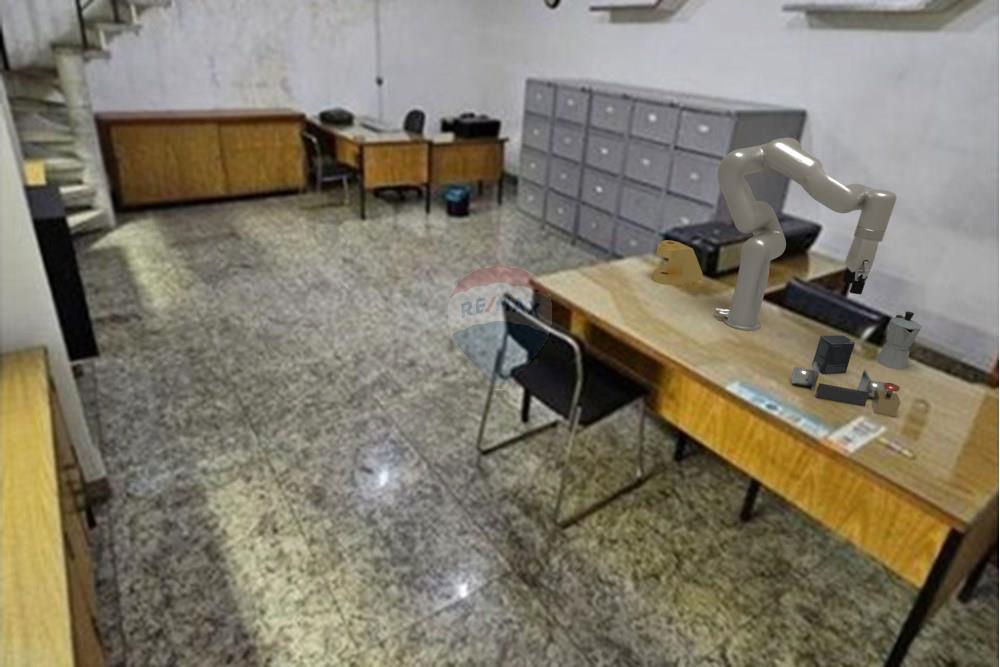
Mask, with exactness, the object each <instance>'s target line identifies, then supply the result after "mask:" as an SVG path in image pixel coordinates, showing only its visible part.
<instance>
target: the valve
mask: <svg viewBox="0 0 1000 667" xmlns="http://www.w3.org/2000/svg"><path fill="white" fill-rule="evenodd" d="M884 383H885V384H884V387H885V388H886V389H887V391H882V390H878V389H877V390H876V392H875V395H874V398H872V400H871V404H870V405H871V408H872V411H873V414H877V415H882V416H886V417H891V418H892V417H893V418H896V416H897V412H898V410H899V409H900V408H899V407H900V404H901V403H902V402H901V399H900V397H899V395H898V393H897V392H900V389H901V387H900V386H899V385H897V384H896V383H892V382H884Z"/></svg>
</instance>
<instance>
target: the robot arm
mask: <svg viewBox="0 0 1000 667" xmlns="http://www.w3.org/2000/svg"><path fill="white" fill-rule="evenodd" d="M768 170H776V172H779V173H781V174H783V175H784V176H785V177H787V178H789V179H790V180H792V181H793V182H795V183H797V184H798V185H799V186H801V187H802V189H803V190H804V191H805V192H806V193H807V195H809V196H810V197H811V198H812V199H814V200H815V201H816V202H818V203H820V204H821V205H822V206H824V207H826V208H828V209H829V210H831V211H833V212H835V213H838V214H848V213H851V212H854V211H861V212H860V214H859V217H858V218H859V219H858V221H857V225H856V227H855V230H854V233H853V237H854V238H853V239H852V243H851V245H850V248H849V250H848V252H847V255H846V258H845V261H844V264H845V266H846V269H845V272H844V275H843V277H842V282H843V283H847V284H851V285H850V289H849V293H850V294H854V295H855V294H856V295H862V294H863V291H864V288H865V285H866V282H867V279H868V277H869V276H868V275H869V274H870V272H871V270H872V267H873V263H874V261H875V258H876V254H877V250H878V246H879V243H881V242H883V239H884V237H885V234H886V231H887V228H888V224H889V221H890V219H891V217H892V213H893V210H894V208H895V205H896V201H897V195H896V194H895V192H892V191H889V190H885V189H876V188H872V187H870V186H867V185H863V184H860V183H851V184H848V185H844V184H842V183H840V182H839V181H837V180H836V179H834V178H833V177H831V176H830V175H829V174H827V173H826V172H825V170H824V168H823V164H822V161H821V160H820V159H818V158H816V157H815V156H813V155H811V154H810V153H808V152H806V151H804V150H803V149H802V145H801V143H800V142H799V141H798V140H797V139H796V138H794V137H793V138H792V137H782V138H776V139H773V140H771V141H769V142H767V143H763V144H759V145H754V146H750V147H744V148H742V147H741V148H737V149H734V150H733V151H731V152H729V153H728V154H726V155H725V156H724V157H723V158H722V160H721V162H720V163H719V165H718V169H717V182H718V185H719V188H720V191H721V192H722V194H723V197H724V199H725V202H726V205H727V209H728V210H729V213H730V215H731V218H732V221H733V222H734V223H733V224H734V225H735V228H736V229H737V230H738V232H740V233H742V234H750V233H752V235H753V236H752V237H749V239H747V240H746V241H745V242H744V244H743V245H742V248H741V251H740V260H739V261H740V263H739V269H738V274H737V278H736V283H735V288H734V291H733V294H732V295H733V296H732V300H731V304H730V305H729V306H728V308H721V307H718V306H717V307H715V311H714V314H715V313H716V314H718V316H722V321H723V323H725V324H726V325H727V326H729V327H731V328H734V329H737V330H741V331H749V332H750V331H751V332H752V331H758V330H759V329H761V327H762V322H761V321H760V320H759V315H760V312H761V308H762V304H763V302H764V301H763V300H764V297H765V292H766V288H767V285H768V281H769V276H770V265H771V261H772V260H774V259H777V258H778V257H779V258H780V257H781V256H782V255H783V253H784V252H785V250H786V247H787V242H786V237H785V235H784V232H783V229H782V226H781V225H780V221H779V218H778V216H777V214H776V212H775V210H774V208H773V207H772V206H771V205H770V204H769V203H768V202H766V201H763V200H762V201H761V200H756V199H755V198H756V197H755V196H754V194H753V193H754V192H753V191H752V188H751V186H750V185H749V183H748V182H747V180H746V178H745V176H748V175H751V174H756V173H759V172H764V171H768Z"/></svg>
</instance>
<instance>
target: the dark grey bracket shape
mask: <svg viewBox="0 0 1000 667" xmlns="http://www.w3.org/2000/svg"><path fill="white" fill-rule="evenodd" d="M812 364H813V366H812V367H811V369H809V368H802V367H797V366H794V367H793V369H792V371H791V377H790V383H791V384H792V385H798V386H799V385H800V386H804V387H809V388H810V390H811V392H814V391H815V388H816V385H817V382H818V379H819V375H820V374H821V373H820V371H819V368H818V365H817V362H815V361H814V363H813V362H812ZM885 383H886V382H883V381H882V382H880V381H875V380H872V379H871V376H870V375H869V373H868V371H867V370H865V369H864V370H863V372H862V375H861V377H860V380H859V383H858V386H857V389H854V388H847V387H841V386H836V385H831V384H825V383H821V382H819V383H818V385H817V388H816V392H815V394H814V395H815V396H814V397H815V398H816V399H821V400H827V401H831V402H832V401H833V402H837V403H842V404H843V403H844V404H849V405H854V406H855V405H856V406H860V407H861V406H862V407H866V404H867V401H868V398H870V399H873V398H874V395H875V392H876V390H877V389H878V390H882V391H888V389H886V388H885V387H884V384H885Z"/></svg>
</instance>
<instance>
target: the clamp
mask: <svg viewBox="0 0 1000 667" xmlns="http://www.w3.org/2000/svg"><path fill="white" fill-rule="evenodd" d="M656 255H657V256H658V257H661V258H663V259H667V260H668V261H667V265H666V268H657V269H654V270H653V271H652V276H651V280H652V282H654V283H657V284H659V285H664V286H665V285H666V286H669V285H677V284H685V283H689V282H690V283H691V282H698V281H702V277H703V271H702V268H701V265H700V263H699V261H698V258H697V255H696V253H695V250H694V248H692V247H690V246H688V245H686V244H683V243H681V242H679V241H675V240H669V239H668V240H666V239H665V240H661V243H658V244H657V248H656Z"/></svg>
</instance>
